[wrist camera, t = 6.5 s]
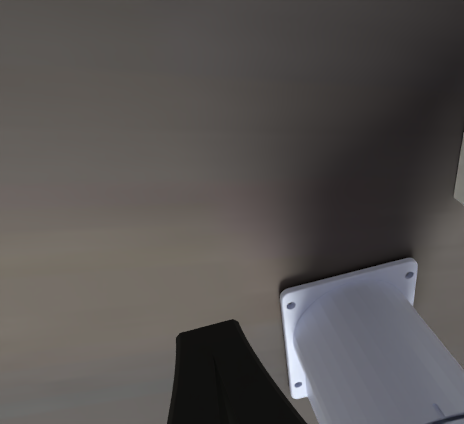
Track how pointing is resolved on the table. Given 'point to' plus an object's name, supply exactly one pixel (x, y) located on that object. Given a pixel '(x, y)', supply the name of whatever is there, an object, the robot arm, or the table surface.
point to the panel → (460, 177)
